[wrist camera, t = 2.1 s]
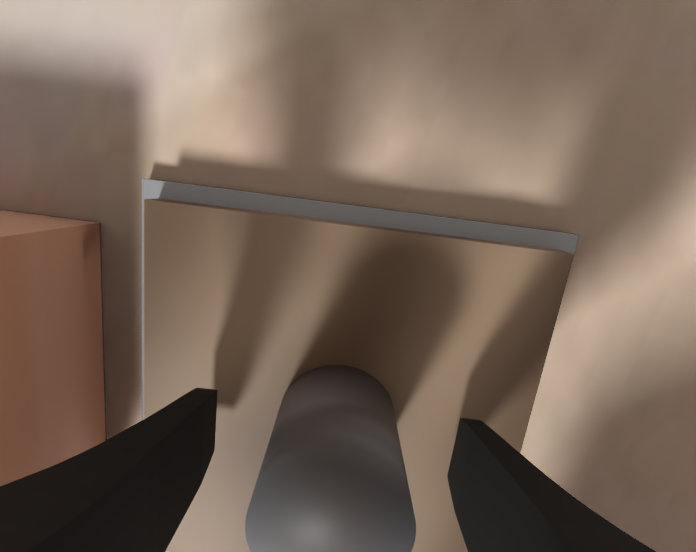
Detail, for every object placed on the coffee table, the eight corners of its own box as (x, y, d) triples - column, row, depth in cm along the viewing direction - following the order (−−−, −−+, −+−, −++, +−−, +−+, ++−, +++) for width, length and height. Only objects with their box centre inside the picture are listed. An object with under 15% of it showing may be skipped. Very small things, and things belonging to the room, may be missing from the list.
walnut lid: (558, 249, 11) (705, 294, 7) (476, 562, 14) (539, 748, 9) (158, 198, 11) (18, 207, 6) (155, 528, 14) (57, 704, 9)
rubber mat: (571, 233, 12) (579, 235, 11) (483, 563, 15) (487, 573, 14) (148, 178, 11) (141, 178, 11) (147, 528, 14) (142, 538, 14)
